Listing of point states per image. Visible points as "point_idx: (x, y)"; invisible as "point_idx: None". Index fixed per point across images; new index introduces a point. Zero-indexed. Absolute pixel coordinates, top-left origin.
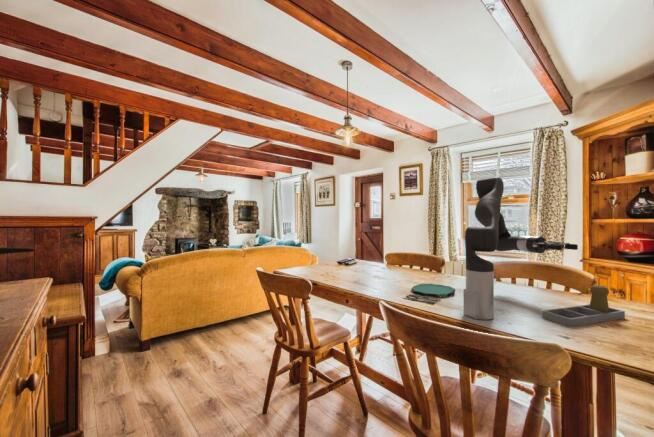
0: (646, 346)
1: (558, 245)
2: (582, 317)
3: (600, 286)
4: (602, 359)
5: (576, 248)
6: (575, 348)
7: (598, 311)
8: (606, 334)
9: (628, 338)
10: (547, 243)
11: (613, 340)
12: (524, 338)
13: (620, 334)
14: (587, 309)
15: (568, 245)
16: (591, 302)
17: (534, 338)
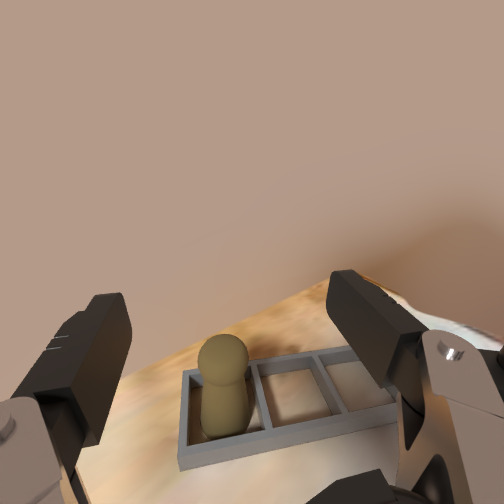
0: (296, 295)
1: (360, 286)
2: (334, 348)
3: (228, 340)
4: (377, 283)
5: (129, 323)
6: (397, 299)
7: (256, 377)
8: (318, 323)
9: (296, 311)
10: (495, 412)
11: (326, 309)
12: (470, 326)
13: (294, 321)
14: (265, 402)
15: (90, 379)
16: (245, 395)
17: (452, 324)
